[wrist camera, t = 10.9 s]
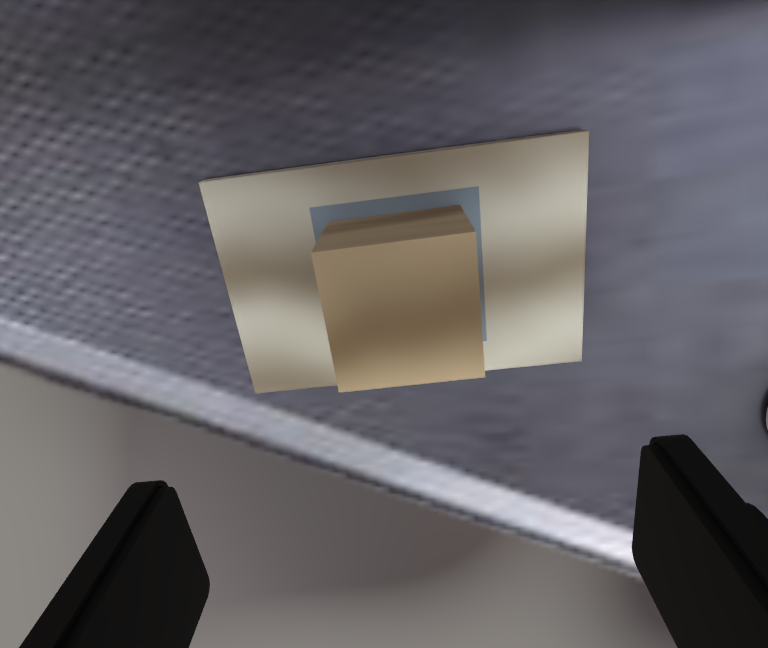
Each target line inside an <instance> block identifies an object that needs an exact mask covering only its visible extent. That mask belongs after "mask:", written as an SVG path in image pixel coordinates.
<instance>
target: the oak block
mask: <svg viewBox="0 0 768 648" xmlns="http://www.w3.org/2000/svg"><path fill="white" fill-rule="evenodd" d="M311 256H312V261H313V266H314V271H315V276H316V281H317V286H318V291H319V296H320V301H321V306H322V311H323V316H324V321H325V326H326V331H327V336H328V341H329V346H330V351H331V356H332V361H333V365H334V370H335V375H336V380H337V385H338V390H339V393H340V392H349V391H359V390H369V389H378V388H388V387H397V386H407V385H416V384H426V383H435V382H445V381H454V380H464V379H473V378H483V377H485V366H484V351H483V335H482V319H481V304H480V288H479V273H478V257H477V241H476V231H475V229H474V228H473V226H472V224H471V222H470V221H469V219H468V217H467V216H466V214H465V212H464V210H463V209H462V207H461V205H453V206H445V207H438V208H430V209H423V210H415V211H407V212H400V213H392V214H385V215H377V216H369V217H362V218H354V219H347V220H339V221H331V222H328V223H327V225H326V226H325V228H324V230H323V232H322V234H321V235H320V237H319V239H318V241H317V243H316V244H315V246H314V248H313V250H312V252H311Z"/></svg>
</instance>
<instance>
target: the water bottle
mask: <svg viewBox="0 0 768 648" xmlns="http://www.w3.org/2000/svg"><path fill="white" fill-rule="evenodd" d="M766 425H767V430H768V408H767V413H766Z"/></svg>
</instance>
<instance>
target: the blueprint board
mask: <svg viewBox="0 0 768 648" xmlns="http://www.w3.org/2000/svg"><path fill="white" fill-rule="evenodd" d="M588 152H589V131H587V130H574V131H566V132H559V133H551V134H544V135H536V136H529V137H521V138H514V139H506V140H498V141H491V142H483V143H476V144H468V145H461V146H453V147H446V148H438V149H430V150H423V151H415V152H408V153H400V154H393V155H385V156H378V157H370V158H363V159H355V160H347V161H340V162H332V163H325V164H317V165H310V166H302V167H295V168H287V169H279V170H272V171H264V172H257V173H249V174H242V175H234V176H227V177H219V178H211V179H206V180H203V181H201V182H199V186H200V190H201V194H202V197H203V201H204V205H205V208H206V212H207V216H208V220H209V223H210V227H211V231H212V234H213V238H214V242H215V246H216V249H217V253H218V257H219V260H220V264H221V268H222V272H223V275H224V279H225V283H226V286H227V290H228V294H229V298H230V301H231V305H232V309H233V312H234V316H235V320H236V323H237V327H238V331H239V335H240V338H241V342H242V346H243V349H244V353H245V357H246V361H247V364H248V368H249V372H250V375H251V379H252V383H253V387H254V390H255V393H263V392H274V391H284V390H294V389H304V388H314V387H324V386H334V385H337V380H336V375H335V370H334V365H333V361H332V356H331V351H330V346H329V341H328V336H327V331H326V326H325V321H324V316H323V311H322V306H321V301H320V296H319V291H318V286H317V281H316V276H315V271H314V266H313V261H312V256H311V252H312V250H313V248H314V246H315V244H316V243H317V241H318V239H319V237H320V235H321V234H322V232H323V230H324V228H325V226H326V225H327V223H328V222H331V221H339V220H347V219H354V218H362V217H369V216H377V215H385V214H392V213H400V212H407V211H415V210H423V209H430V208H438V207H445V206H453V205H461V207H462V209H463V210H464V212H465V214H466V216H467V217H468V219H469V221H470V222H471V224H472V226H473V228H474V229H475V231H476V241H477V257H478V273H479V288H480V304H481V319H482V335H483V351H484V366H485V370H495V369H505V368H515V367H526V366H536V365H546V364H556V363H566V362H576V361H582V334H583V304H584V274H585V243H586V213H587V183H588Z"/></svg>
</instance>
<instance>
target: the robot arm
mask: <svg viewBox="0 0 768 648" xmlns="http://www.w3.org/2000/svg"><path fill="white" fill-rule="evenodd" d="M632 553H633V557H634V561H635V564H636V566H637V569H638V570H639V572H640V574H641V576H642V578H643V580H644V582H645V584H646V586H647V588H648V590H649V592H650V594H651V596H652V598H653V600H654V602H655V604H656V606H657V608H658V610H659V612H660V614H661V616H662V618H663V620H664V622H665V624H666V626H667V628H668V629H669V632H670V634H671V636H672V637H673V640H674V642H675V643H676V646H677V647H678V648H768V519H767V518H766V517H765V516H764V514H763V513H762V512H761V511H759V510H758V509H757V508H756V507H755V506H753V505H751V504H749V503H745V502H744V501H743V499H742V498H741V497H740V496H739V495H738V494H737V492H736V491H735V490H734V489H733V488H732V487H731V485H730V484H729V483H728V482H727V481H726V480H725V478H724V477H723V476H722V475H721V474H720V472H719V471H718V470H717V469H716V468H715V467H714V465H713V464H712V463H711V462H710V461H709V460H708V458H707V457H706V456H705V455H704V454H703V453H702V451H701V450H700V449H699V448H698V447H697V446H696V444H695V443H694V442H693V441H692V440H691V439H690V438H689V437H688V436H687V435H684V434H682V435H670V436H659V437H653V438H652V439H651V440H650V444H649V445H645V446H643V447H642V449H641V456H640V467H639V477H638V488H637V498H636V509H635V519H634V530H633V541H632ZM209 588H210V582H209V577H208V574H207V571H206V568H205V566H204V563H203V561H202V558H201V555H200V553H199V550H198V548H197V545H196V542H195V540H194V537H193V534H192V532H191V529H190V527H189V524H188V522H187V519H186V516H185V514H184V511H183V508H182V506H181V503H180V500H179V498H178V495H177V493H176V491H175V489H174V488H173V487H168V485H167V483H166V482H164V481H161V480H160V481H148V482H137V483H134V484H132V485H131V486H130V487H129V488H128V489H127V491H126V492H125V494H124V496H123V497H122V498H121V500H120V501H119V503H118V504H117V506H116V507H115V508H114V510H113V512H112V513H111V514H110V516H109V517H108V519H107V520H106V522H105V523H104V525H103V526H102V527H101V529H100V530H99V532H98V533H97V535H96V536H95V538H94V539H93V541H92V542H91V544H90V545H89V547H88V548H87V549H86V551H85V552H84V554H83V555H82V557H81V558H80V560H79V561H78V563H77V564H76V565H75V567H74V568H73V570H72V572H71V573H70V574H69V576H68V577H67V579H66V580H65V582H64V583H63V584H62V586H61V587H60V589H59V590H58V592H57V593H56V595H55V596H54V598H53V599H52V600H51V602H50V603H49V605H48V606H47V608H46V609H45V611H44V612H43V614H42V615H41V617H40V618H39V619H38V621H37V622H36V624H35V625H34V627H33V628H32V630H31V631H30V633H29V634H28V636H27V637H26V638H25V640H24V641H23V643H22V644H21V646H20V647H19V648H189V645H190V643H191V640H192V637H193V635H194V632H195V629H196V627H197V624H198V621H199V619H200V616H201V613H202V611H203V608H204V606H205V603H206V600H207V598H208V594H209Z"/></svg>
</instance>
